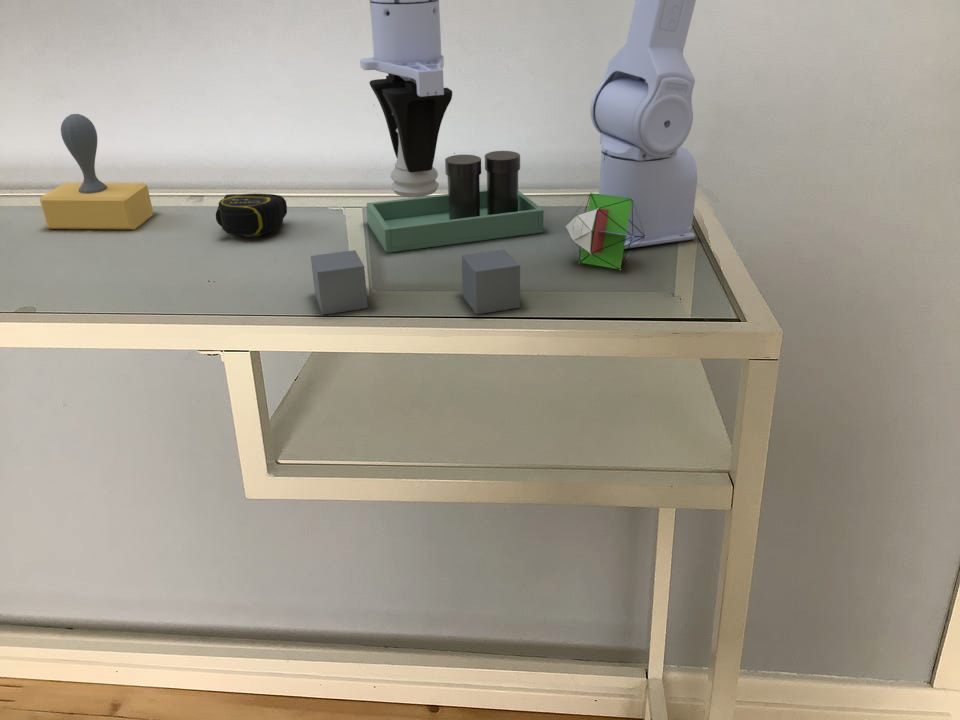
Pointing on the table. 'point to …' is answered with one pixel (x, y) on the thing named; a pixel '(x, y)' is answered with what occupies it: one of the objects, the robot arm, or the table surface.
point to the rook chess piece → (412, 178)
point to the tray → (446, 222)
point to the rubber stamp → (93, 189)
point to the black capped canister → (502, 181)
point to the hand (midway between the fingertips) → (413, 164)
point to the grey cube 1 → (339, 282)
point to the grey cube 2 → (491, 281)
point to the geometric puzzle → (603, 230)
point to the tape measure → (251, 213)
